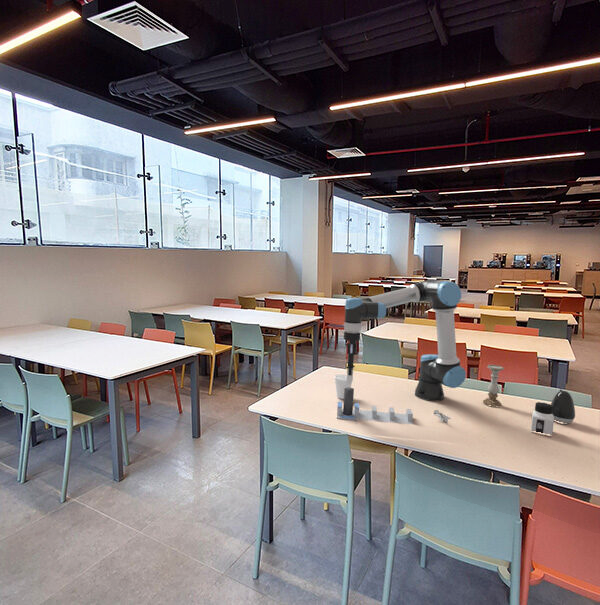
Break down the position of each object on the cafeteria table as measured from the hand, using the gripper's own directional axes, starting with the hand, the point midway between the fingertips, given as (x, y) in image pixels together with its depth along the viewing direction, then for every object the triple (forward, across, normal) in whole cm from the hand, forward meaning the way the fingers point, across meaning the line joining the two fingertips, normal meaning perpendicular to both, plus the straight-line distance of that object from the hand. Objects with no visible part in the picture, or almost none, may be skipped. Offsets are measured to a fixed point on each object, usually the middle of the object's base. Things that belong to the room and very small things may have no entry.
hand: (349, 381), depth 178 cm
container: (+16, 0, +85) cm, 87 cm away
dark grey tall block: (+16, 0, 0) cm, 16 cm away
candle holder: (+16, -31, +75) cm, 83 cm away
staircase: (+17, 0, +42) cm, 46 cm away
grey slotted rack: (+16, 0, +12) cm, 20 cm away
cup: (+17, -23, -3) cm, 28 cm away
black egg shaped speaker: (+16, -14, +100) cm, 102 cm away
